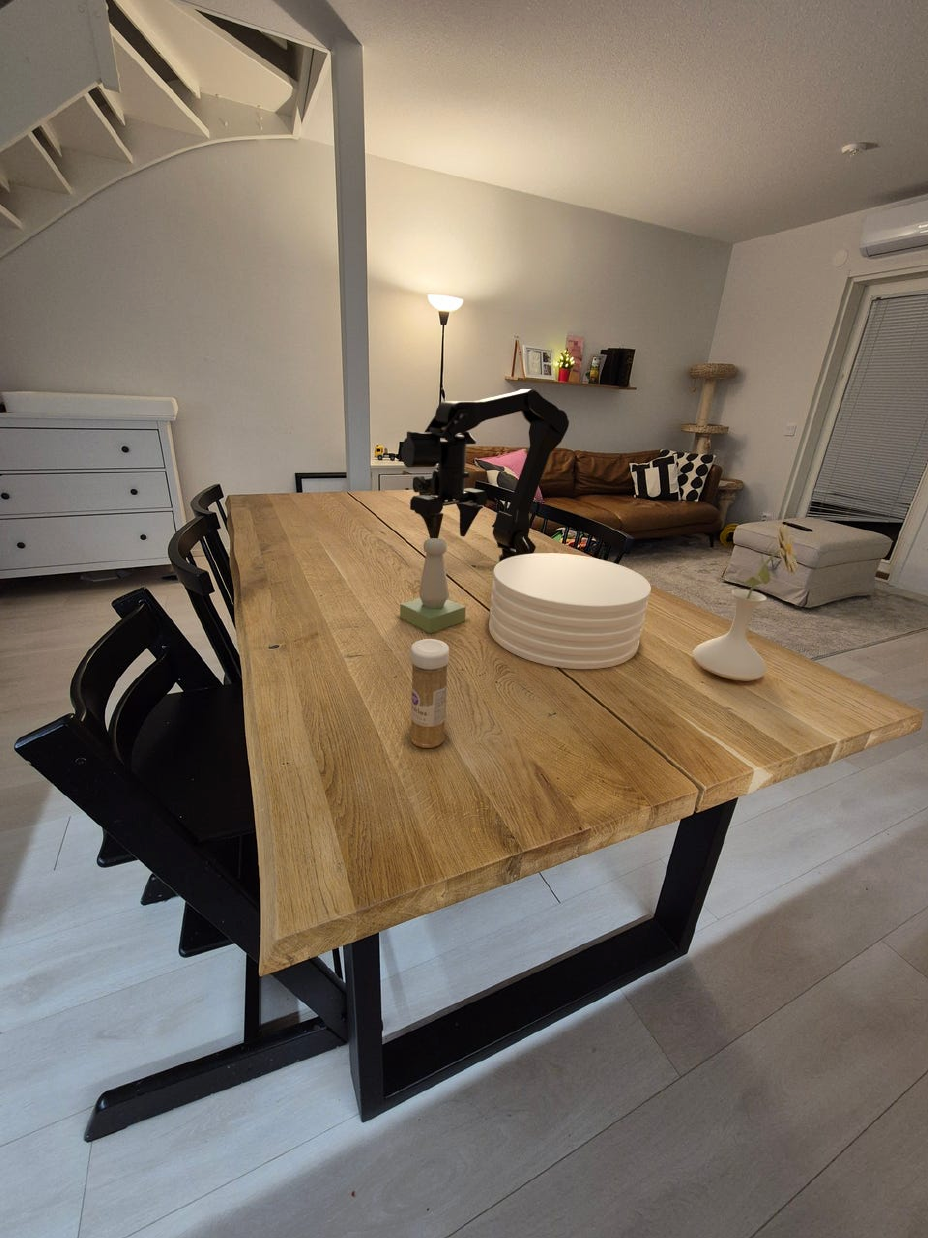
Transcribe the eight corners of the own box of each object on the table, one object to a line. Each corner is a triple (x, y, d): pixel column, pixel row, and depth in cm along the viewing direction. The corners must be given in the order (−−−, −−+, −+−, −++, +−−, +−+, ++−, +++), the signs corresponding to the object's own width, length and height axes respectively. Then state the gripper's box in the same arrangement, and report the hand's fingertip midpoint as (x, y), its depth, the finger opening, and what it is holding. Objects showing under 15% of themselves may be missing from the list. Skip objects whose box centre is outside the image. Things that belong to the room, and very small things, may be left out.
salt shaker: (450, 600, 100) (453, 536, 94) (446, 612, 94) (449, 545, 89) (421, 598, 100) (422, 534, 95) (416, 609, 95) (417, 542, 90)
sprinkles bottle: (402, 738, 64) (402, 645, 59) (427, 723, 68) (429, 634, 62) (428, 755, 62) (430, 659, 56) (452, 738, 65) (457, 646, 59)
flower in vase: (733, 693, 79) (784, 538, 68) (676, 660, 88) (712, 519, 77) (784, 677, 84) (837, 531, 74) (725, 647, 93) (765, 514, 83)
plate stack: (646, 622, 102) (658, 568, 98) (625, 686, 79) (640, 620, 74) (517, 594, 113) (522, 545, 108) (464, 644, 89) (468, 583, 85)
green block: (434, 606, 104) (435, 593, 103) (464, 621, 98) (465, 607, 97) (400, 617, 98) (400, 603, 97) (430, 633, 93) (430, 618, 91)
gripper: (453, 459, 116) (450, 525, 122) (392, 464, 103) (392, 538, 109) (491, 465, 109) (486, 535, 116) (430, 471, 96) (428, 550, 103)
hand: (448, 539), depth 111 cm, fingers open, 9 cm apart
